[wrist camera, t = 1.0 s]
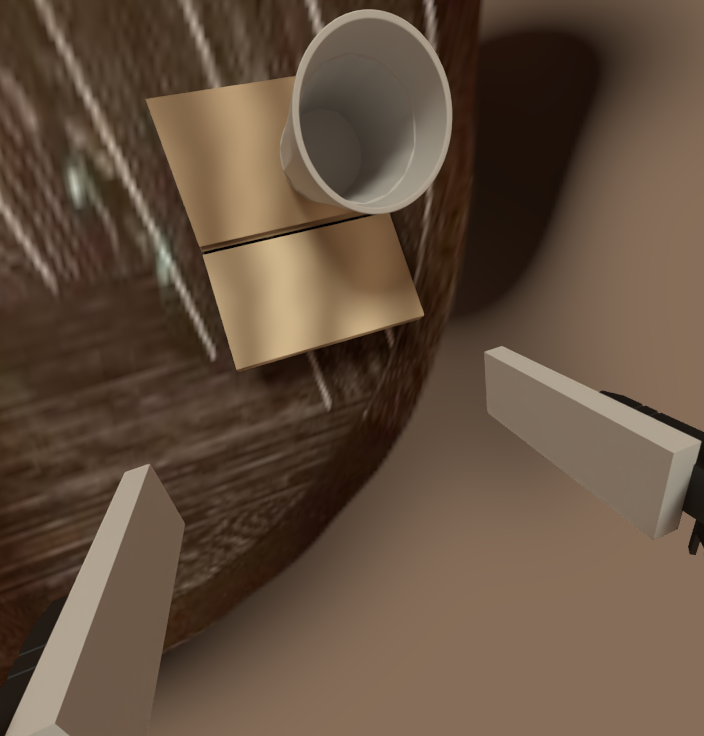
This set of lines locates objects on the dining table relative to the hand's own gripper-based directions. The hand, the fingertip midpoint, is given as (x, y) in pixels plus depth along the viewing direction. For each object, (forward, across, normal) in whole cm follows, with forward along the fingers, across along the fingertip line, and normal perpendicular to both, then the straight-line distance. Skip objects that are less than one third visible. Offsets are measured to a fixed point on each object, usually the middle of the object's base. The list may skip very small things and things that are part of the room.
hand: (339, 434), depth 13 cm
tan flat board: (+20, +3, +11) cm, 23 cm away
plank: (+18, +3, +1) cm, 18 cm away
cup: (+20, +6, +10) cm, 24 cm away
